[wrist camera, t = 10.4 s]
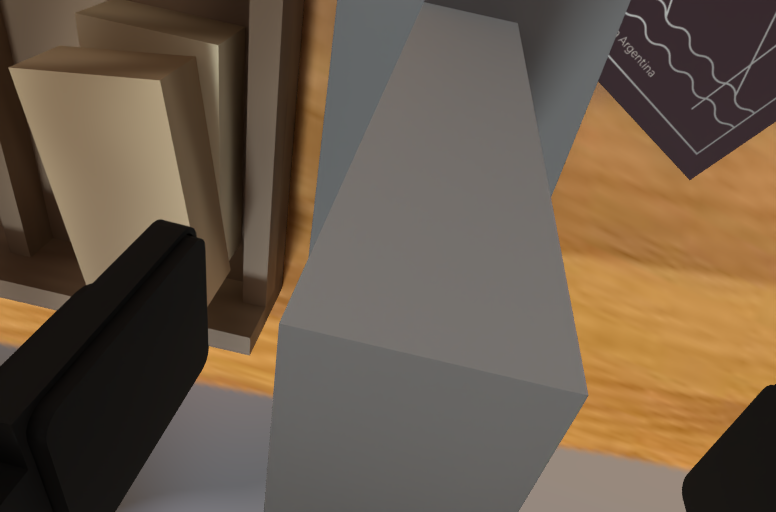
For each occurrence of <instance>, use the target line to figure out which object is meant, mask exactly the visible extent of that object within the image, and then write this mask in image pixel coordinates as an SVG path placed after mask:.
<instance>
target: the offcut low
mask: <svg viewBox="0 0 776 512" xmlns="http://www.w3.org/2000/svg"><path fill="white" fill-rule="evenodd" d="M75 20H76V26H77V33H78V40H79V46H80V47H83V48H96V49H108V50H121V51H133V52H145V53H158V54H170V55H183V56H195V57H196V61H197V67H198V74H199V80H200V86H201V92H202V98H203V104H204V110H205V116H206V123H207V129H208V135H209V141H210V147H211V153H212V159H213V166H214V172H215V178H216V184H217V190H218V196H219V202H220V208H221V215H222V221H223V227H224V233H225V239H226V245H227V251H228V258H229V260H230V259H231V257H232V256H233V254H234V253H235V251H236V249H237V248H238V246H239V245H240V243H241V218H242V168H243V119H244V69H245V27H244V26H239V25H235V24H230V23H226V22H221V21H217V20H212V19H208V18H203V17H199V16H194V15H190V14H186V13H181V12H177V11H172V10H168V9H163V8H159V7H154V6H150V5H145V4H141V3H136V2H132V1H127V0H108V1H106V2H103V3H100V4H97V5H95V6H92V7H89V8H86V9H84V10H81V11H78V12H76V13H75Z"/></svg>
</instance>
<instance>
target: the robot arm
mask: <svg viewBox="0 0 776 512" xmlns="http://www.w3.org/2000/svg"><path fill="white" fill-rule="evenodd" d="M208 349H209V345H208V313H207V282H206V250H205V242H204V240H203V239H201V238H197V235H196V231H195V229H194V228H192V227H189V226H185V225H181V224H178V223H174V222H170V221H166V220H162V219H159V220H156V221H155V222H153V223H152V224H151V225H150V226H149V227H148V228H147V229H146V230H145V231H144V232H143V233H142V234H141V235H140V236H139V237H138V238H137V239H136V240H135V241H134V242H133V243H132V244H131V245H130V246H129V247H128V248H127V249H126V250H125V251H124V252H123V253H122V254H121V255H120V256H119V257H118V258H117V259H116V260H115V261H114V262H113V263H112V264H111V265H110V266H109V267H108V268H107V269H106V270H105V271H104V272H103V273H102V274H101V275H100V276H99V277H98V278H97V279H96V280H95V281H94V282H93V283H91V284H88V285H85V286H83V287H82V288H81V289H79V290H78V291H77V292H75V293H74V294H73V295H72V296H71V297H70V298H69V299H68V300H67V301H66V302H65V303H64V304H63V305H62V306H61V307H60V308H59V309H58V310H57V311H56V312H55V313H54V314H53V315H52V316H51V317H50V318H49V319H48V320H47V321H46V322H45V323H44V324H43V325H42V326H41V327H40V328H39V329H38V330H37V331H36V332H35V333H34V334H33V335H32V336H31V337H30V338H29V339H28V340H27V341H26V342H25V343H24V344H23V345H22V346H21V347H20V348H19V349H18V350H17V351H16V352H15V353H14V354H12V356H10V357H9V359H7V360H6V361H5V362H4V363H3V364H2V365H1V366H0V512H115V511H116V510H117V508H118V506H119V505H120V503H121V502H122V500H123V498H124V497H125V495H126V493H127V492H128V490H129V488H130V487H131V485H132V483H133V482H134V480H135V479H136V477H137V475H138V474H139V472H140V470H141V469H142V467H143V466H144V464H145V462H146V461H147V459H148V457H149V456H150V454H151V453H152V451H153V449H154V448H155V446H156V444H157V443H158V441H159V439H160V438H161V436H162V434H163V433H164V431H165V429H166V428H167V426H168V425H169V423H170V421H171V420H172V418H173V416H174V415H175V413H176V412H177V410H178V408H179V407H180V405H181V403H182V402H183V400H184V399H185V397H186V395H187V394H188V392H189V390H190V389H191V387H192V386H193V384H194V382H195V381H196V379H197V377H198V376H199V374H200V373H201V371H202V369H203V367H204V365H205V363H206V360H207V356H208ZM682 496H683V501H684V504H685V508H686V512H776V384H775V385H769V386H767V387H765V388H764V389H763V390H762V391H761V392H760V393H759V395H758V396H757V397H756V398H755V399H754V400H753V401H752V402H751V403H750V405H749V406H748V407H747V408H746V409H745V410H744V411H743V412H742V414H741V415H740V416H739V417H738V418H737V419H736V420H735V421H734V423H733V424H732V425H731V426H730V427H729V428H728V429H727V430H726V431H725V433H724V434H723V435H722V436H721V437H720V438H719V439H718V440H717V442H716V443H715V444H714V445H713V446H712V447H711V448H710V449H709V451H708V452H707V453H706V454H705V455H704V456H703V457H702V458H701V459H700V461H699V462H698V463H697V464H696V465H695V466H694V467H693V468H692V470H691V471H690V472H689V473H688V474H687V475H686V477H685V479H684V482H683V487H682Z"/></svg>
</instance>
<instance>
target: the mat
mask: <svg viewBox="0 0 776 512" xmlns="http://www.w3.org/2000/svg"><path fill="white" fill-rule="evenodd" d="M630 1H631V0H337V8H336V17H335V26H334V35H333V43H332V52H331V61H330V70H329V79H328V88H327V97H326V106H325V115H324V124H323V133H322V142H321V151H320V160H319V169H318V178H317V187H316V196H315V205H314V214H313V223H312V232H311V241H310V250H309V256H310V254H311V252H312V250H313V247H314V245H315V243H316V241H317V238H318V236H319V234H320V232H321V230H322V227H323V225H324V223H325V221H326V218H327V216H328V214H329V212H330V210H331V207H332V205H333V203H334V201H335V198H336V196H337V194H338V192H339V190H340V187H341V185H342V183H343V181H344V179H345V176H346V174H347V172H348V170H349V167H350V165H351V163H352V161H353V159H354V156H355V154H356V152H357V150H358V147H359V145H360V143H361V141H362V139H363V136H364V134H365V132H366V130H367V127H368V125H369V123H370V121H371V119H372V116H373V114H374V112H375V110H376V108H377V105H378V103H379V101H380V99H381V96H382V94H383V92H384V90H385V88H386V85H387V83H388V81H389V79H390V76H391V74H392V72H393V70H394V68H395V65H396V63H397V61H398V59H399V56H400V54H401V52H402V50H403V48H404V45H405V43H406V41H407V39H408V37H409V34H410V32H411V30H412V28H413V25H414V23H415V21H416V19H417V17H418V14H419V12H420V10H421V8H422V5H423V3H424V2H426V3H430V4H435V5H439V6H444V7H448V8H452V9H457V10H461V11H466V12H470V13H475V14H479V15H484V16H488V17H493V18H497V19H501V20H506V21H510V22H515V23H518V27H519V32H520V38H521V43H522V48H523V53H524V59H525V64H526V69H527V74H528V80H529V85H530V90H531V96H532V101H533V106H534V111H535V117H536V122H537V127H538V132H539V138H540V143H541V148H542V154H543V159H544V164H545V169H546V175H547V180H548V185H549V191H550V196H552V193H553V191H554V189H555V186H556V184H557V181H558V179H559V176H560V174H561V171H562V169H563V166H564V164H565V161H566V159H567V156H568V154H569V151H570V149H571V147H572V144H573V142H574V139H575V137H576V134H577V132H578V129H579V127H580V124H581V122H582V119H583V117H584V114H585V112H586V109H587V107H588V105H589V102H590V100H591V97H592V95H593V92H594V90H595V87H596V85H597V82H598V80H599V77H600V75H601V72H602V70H603V67H604V65H605V63H606V60H607V58H608V55H609V53H610V50H611V48H612V45H613V43H614V40H615V38H616V35H617V33H618V30H619V28H620V25H621V23H622V21H623V18H624V16H625V13H626V11H627V8H628V6H629V3H630Z"/></svg>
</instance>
